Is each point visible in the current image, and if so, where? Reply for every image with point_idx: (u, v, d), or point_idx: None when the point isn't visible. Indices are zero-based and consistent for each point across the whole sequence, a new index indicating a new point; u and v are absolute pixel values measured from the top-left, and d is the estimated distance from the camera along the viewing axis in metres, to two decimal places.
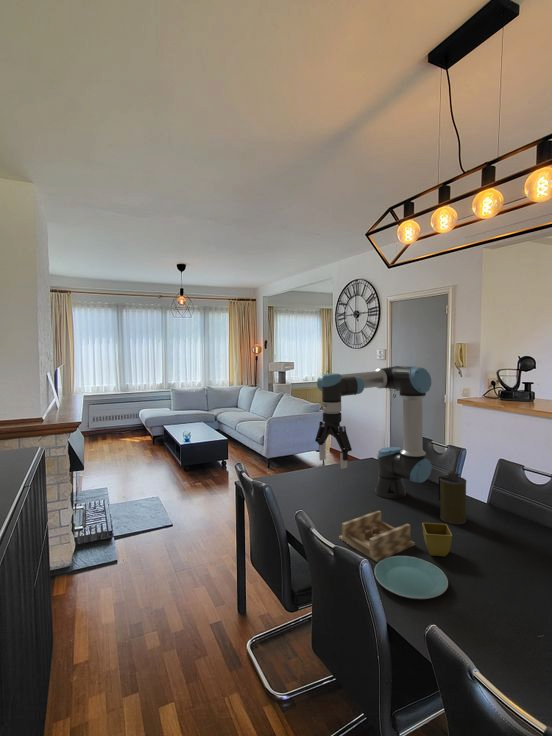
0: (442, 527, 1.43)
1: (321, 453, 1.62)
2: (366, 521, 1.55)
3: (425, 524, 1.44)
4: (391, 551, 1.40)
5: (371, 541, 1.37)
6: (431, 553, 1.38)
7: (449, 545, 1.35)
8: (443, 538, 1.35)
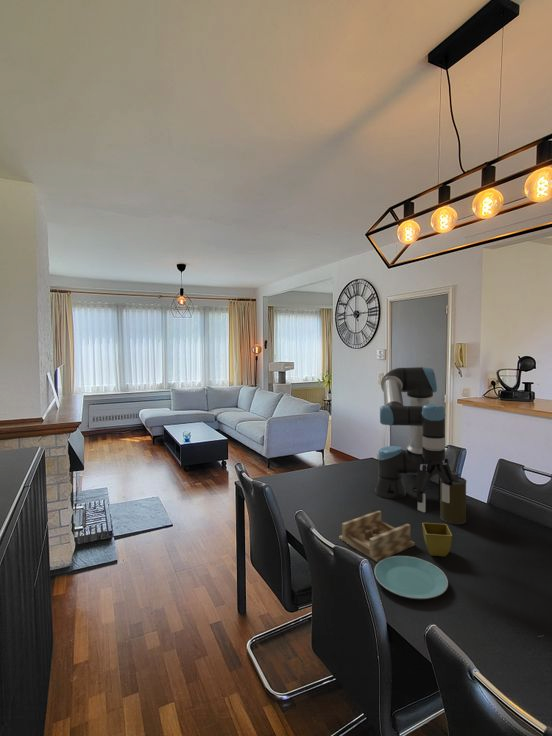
0: (442, 527, 1.43)
1: (442, 493, 1.43)
2: (366, 521, 1.55)
3: (425, 524, 1.44)
4: (391, 551, 1.40)
5: (371, 541, 1.37)
6: (431, 553, 1.38)
7: (449, 545, 1.35)
8: (443, 538, 1.35)
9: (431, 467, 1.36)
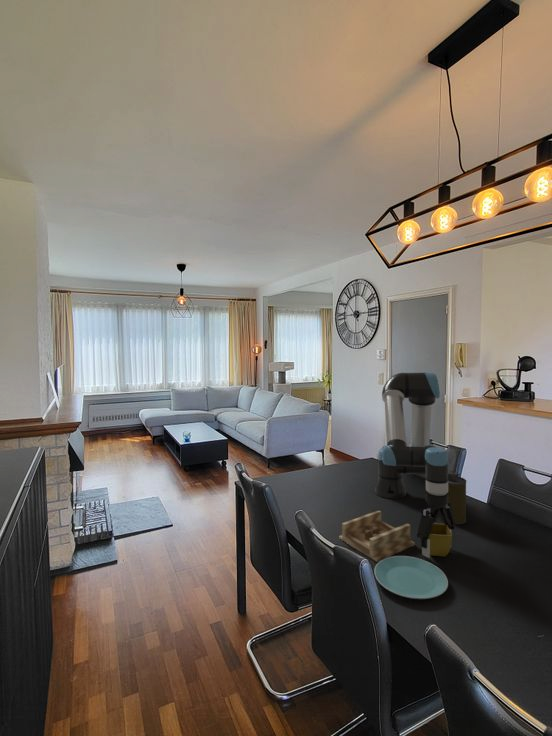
0: (442, 527, 1.43)
1: None
2: (366, 521, 1.55)
3: None
4: (391, 551, 1.40)
5: (371, 541, 1.37)
6: (431, 553, 1.38)
7: (449, 545, 1.35)
8: (443, 538, 1.35)
9: (434, 511, 1.37)
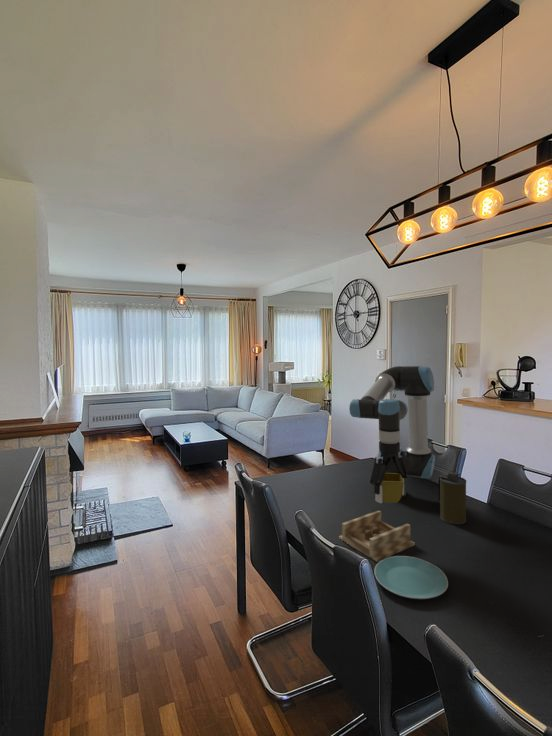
0: (395, 476, 1.49)
1: None
2: (366, 521, 1.55)
3: None
4: (391, 551, 1.40)
5: (371, 541, 1.37)
6: (384, 500, 1.43)
7: (401, 491, 1.41)
8: (395, 484, 1.41)
9: (387, 459, 1.43)
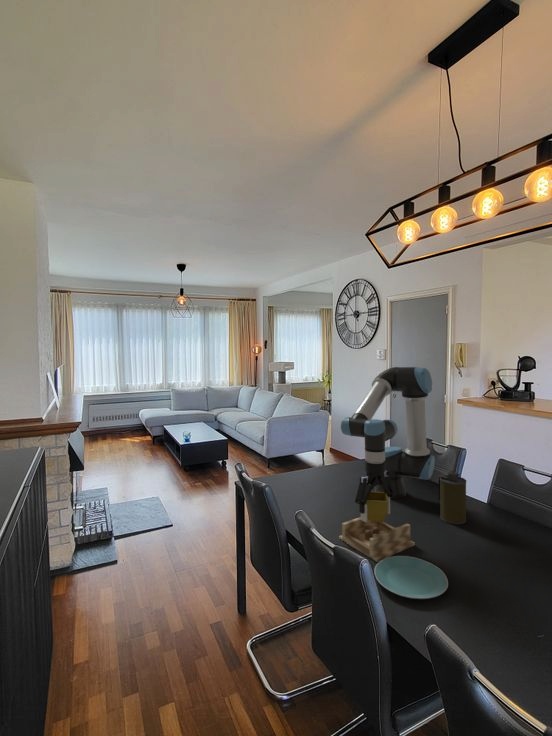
0: (381, 495, 1.51)
1: None
2: None
3: None
4: (391, 551, 1.40)
5: (371, 541, 1.37)
6: (369, 518, 1.46)
7: (385, 510, 1.44)
8: (379, 504, 1.44)
9: (372, 479, 1.45)
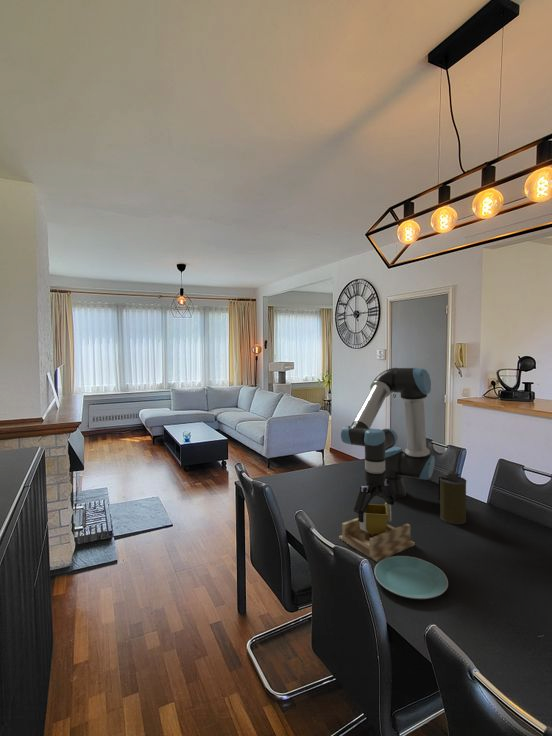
0: (381, 508, 1.52)
1: None
2: None
3: None
4: (391, 551, 1.40)
5: (371, 541, 1.37)
6: (369, 531, 1.46)
7: (385, 524, 1.44)
8: (379, 517, 1.44)
9: (372, 489, 1.45)
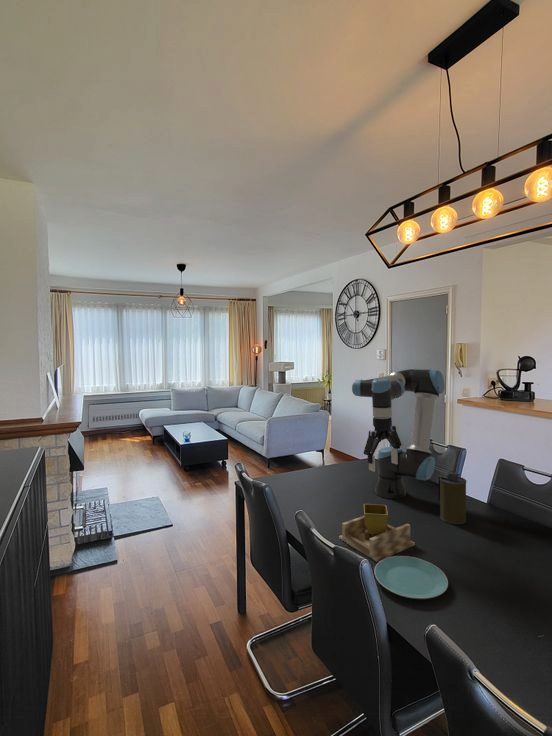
0: (381, 508, 1.52)
1: (392, 456, 1.65)
2: None
3: (366, 505, 1.53)
4: (391, 551, 1.40)
5: (371, 541, 1.37)
6: (369, 531, 1.46)
7: (385, 524, 1.44)
8: (379, 517, 1.44)
9: (380, 433, 1.58)
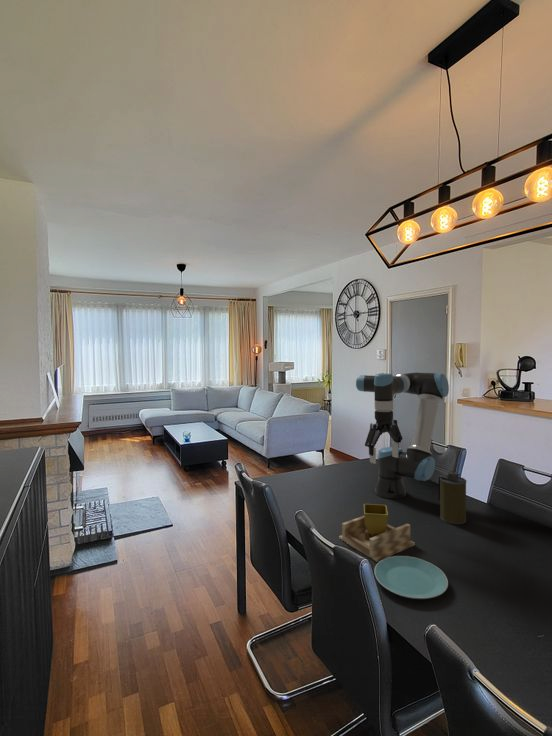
0: (381, 508, 1.52)
1: (393, 450, 1.68)
2: None
3: (366, 505, 1.53)
4: (391, 551, 1.40)
5: (371, 541, 1.37)
6: (369, 531, 1.46)
7: (385, 524, 1.44)
8: (379, 517, 1.44)
9: (381, 426, 1.61)
